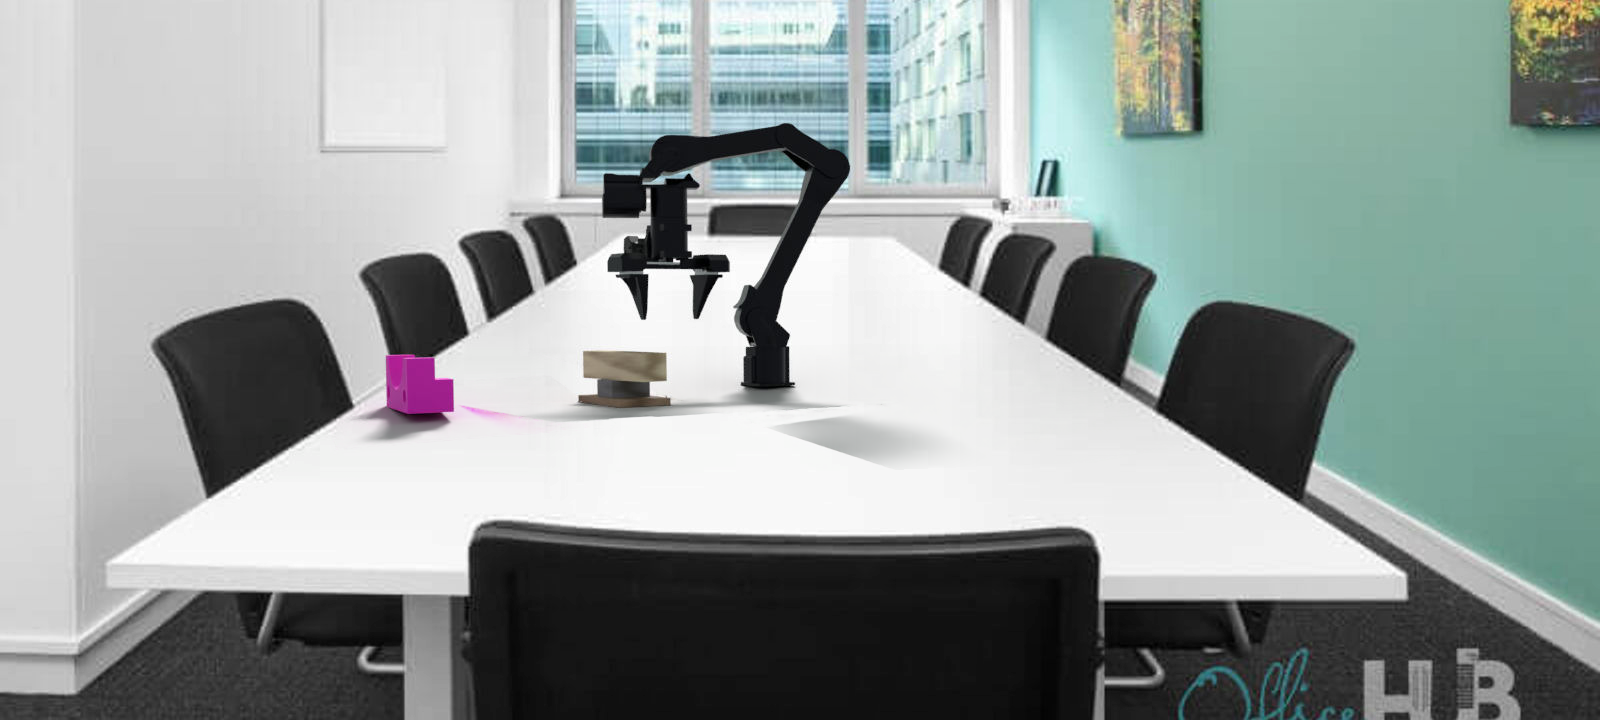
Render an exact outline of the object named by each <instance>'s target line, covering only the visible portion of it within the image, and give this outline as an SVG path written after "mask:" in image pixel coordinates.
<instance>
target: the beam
mask: <svg viewBox="0 0 1600 720" xmlns="http://www.w3.org/2000/svg"><path fill="white" fill-rule="evenodd" d="M582 358H583V359H582V361H583V362H582V364H583V365H582V367H583V368H582V370H583V375H582V377H583V378H584V379H596V380H597V379H607V380H620V381H634V382H650V383H651V382H653V383H654V382H667V381H668V378H667V377H668V376H667V375H668V374H667V371H668V370H667V369H668V368H667V364H668V363H667V361H668V360H667V352H657V351H655V352H654V351H653V352H651V351H634V350H633V351H632V350H630V351H629V350H611V349H609V350H608V349H603V350H600V349H599V350H583V351H582Z"/></svg>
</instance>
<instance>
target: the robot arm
mask: <svg viewBox="0 0 1600 720" xmlns="http://www.w3.org/2000/svg"><path fill="white" fill-rule="evenodd" d="M777 151H778V152H780V153H783V155H785V156H786V157H787V159H789V160H790V161H791V162H792V163H794V165H796V167H798V168H799V169H801V171H803V172H805V173H804V177H803V181H802V184H801V189H800V194H799V199H798V202H797V204H796V206H795V208H794V209H793V212H792V214H791V216H790V218H789V220H788V222H787V225H786V226H785V229H784V230H783V232H782V234H781V237H780V239H779V240H778V243H777V245H776V247H775V249H774V251H773V253H772V255H771V257H770V258H769V261H768V263H767V265H766V267H765V269H764V271H763V273H762V276H761V277H760V278H759V280H758V281H757V282H756V284H754V286H753V285H751V284H744V285H743V288H742V290H741V294H740V297H739V299H738V301H737V303H736V304H734V305H733V306H732V308H733V309H736V310H735V313H734V316H733V320H734V325H735V327H736V329H737V331H738V332H739V333H741V334H742V335H743V336H745V338H746V341H747V343H748V345H749V346H745V355H743V361H742V362H743V364H742V365H743V369H742V370H743V381H741V382H740V385H741V386H749V387H763V388H764V387H781V386H782V387H783V386H796V381H795V382H793V381H790V377H791V376H790V373H791V371H790V370H791V369H790V346H788V343H789V341H790V338H791V334H790V333H789V332H788V330H786V329H785V328H784V327H783V326H782V325H781V324H780V323H779V322H778V321H777V319H778V316H779V312H780V310H781V305H782V299H783V295H784V290H785V287H786V285H787V283H788V281H789V279H790V276H791V274H792V273H793V270H794V268H795V266H796V264H797V262H798V260H799V258H800V257H801V255H802V253H803V250H804V248H805V246H806V244H807V242H808V240H809V238H810V236H811V234H812V232H813V229H814V228H815V226H816V223H817V222H818V219H819V218H820V215H821V213H822V211H823V210H824V208H825V207H826V206H827V205H828V204H829V202H830V201H831V200H832V199H833V198H834V196H835V195H836V194H837V193H838V192H839V189H841V188H842V186H843V184H844V183H845V182H846V180H847V179H848V177H849V175H850V172H851V165H850V161H849V158H848V157H847V156H846V154H845V153H843V152H842V151H841V150H838V149H835V148H828V147H827V146H825V145H824V144H823V143H821V142H820V141H817V140H816V139H815V138H813V137H811V136H809V135H807V134H806V133H804V132H802V131H801V130H800V129H798V128H797V127H796V126H795V125H794V124H792V123H789V122H783V123H780V124H778V125H775V126H774V125H773V126H768V127H760V128H755V129H749V130H747V129H746V130H741V131H735V132H729V133H723V134H716V135H710V136H703V135H701V136H699V135H689V134H684V135H683V134H665V135H663V136H660V137H658V139H656V140H655V141H654V143H653V144H652V146H651V148H650V150H649V153H648V163H647V164H646V165H645V167H643V168H642V167H641V168H640V171H639V174H615V173H611V172H610V173H608V172H605V173H604V174H603V177H602V178H603V183H602V184H603V185H602V186H603V187H602V195H601V211H602V212H601V215H602V216H601V217H602V219H639V218H640V213H642V212H645V213H646V212H647V205H648V204H647V202H648V201H647V197H648V196H647V190H649V191H650V193H649V198H650V199H649V201H650V202H649V203H650V205H649V206H650V207H649V208H650V209H649V210H650V224H647V225H646V229H645V236H644V238H642V237H641V238H639V236H638V235H627V236H625V237H624V238H623V252H620V253H611V254H610V255H609V257H608V260H607V273H619V274H615V278H617V279H621V280H622V281H623V282H624V284H626V286H627V288H628V290H629V291H630V294H631V296H632V299H633V302H634V305H635V308H636V309H637V313H638V315H639V319H640V320H641V321H646V319H647V316H648V302H649V301H648V300H649V275H650V274H649V273H644V271H645V270H692V271H693V272H694V274H690V275H689V278H690V280H691V283H692V317H693V319H694V320H699V319H700V317H701V316H702V315H701V314H702V312H703V310H704V307H705V304H706V302H707V300H708V298H709V296H710V294H711V292H712V290H713V288H714V286H715V284H716V282H717V281H718V279H722V278H723V277H724V276H723V275H724V274H721V273H730V272H731V261H730V260H729V258H728V256H727V254H711V253H710V254H694V255H693V251H692V250H689V241H688V234H689V233H688V232H692V228H693V227H692V226H693V224H691V223H690V224H689V222H688V219H689V218H688V191H689V190H690V191H691V190H693V191H694V190H696V191H697V190H698V189H699V188H700V186H701V185H700V183H699V182H698V181H696V180H695V179H694V177H693V176H692V174H691V173H689V172H687V174H686V175H685V176H684V177H683V178H681V177H680V178H677V177H673V178H672V177H671V176H674V175H677V174H680V173H682V172H683V173H684V172H686V171H688V170H691V169H694V168H697V167H699V166H701V165H704V164H707V163H710V162H716V161H717V162H718V161H721V160H727V159H728V160H729V159H735V158H741V157H747V156H753V155H758V154H766V153H772V152H777ZM661 176H662V177H663V176H664V177H666V178H664V181H663V183H661V184H659V183H658V184H656V183H655V184H652V183H653V181H655V180H656V179H658V178H659V177H661ZM669 177H671V178H669ZM647 183H651V184H647ZM674 260H675V261H677V262H675V261H674ZM678 261H679V262H678Z"/></svg>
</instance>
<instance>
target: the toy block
mask: <svg viewBox="0 0 1600 720" xmlns="http://www.w3.org/2000/svg"><path fill="white" fill-rule="evenodd" d="M435 361H436V359H435V357H430V356H429V357H416V355H415V354H386V355H385V383H386V384H385V386H386V387H385V389H386V391H385V392H386V407H387V408H389V409H392V410H395V411H399V412H401V413H404V414H408V415H409V414H410V415H411V414H432V413H433V414H434V413H436V414H437V413H454V412H455V399H454V398H455V397H454V396H455V395H454V394H455V393H454V391H455V390H454V389H455V388H454V379H453V378H450V377H449V378H448V377H437V378H436V369H435V367H436V362H435Z"/></svg>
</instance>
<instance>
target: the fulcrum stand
mask: <svg viewBox="0 0 1600 720" xmlns="http://www.w3.org/2000/svg"><path fill="white" fill-rule="evenodd" d="M596 385H597V387H596V388H597V393H596V394H594V393H593V394H578V402H580V401H582V402H581V403H585V404H592V405H600V406H605V407H606V406H607V407H613V408H620V409H621V408H635V407H638V408H639V407H654V406H655V407H657V406H671V405H672V404H671V403H672V402H671V400H672V399H671V397H665V396H657V395H651V382H634V381H620V380H607V379H596Z"/></svg>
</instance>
